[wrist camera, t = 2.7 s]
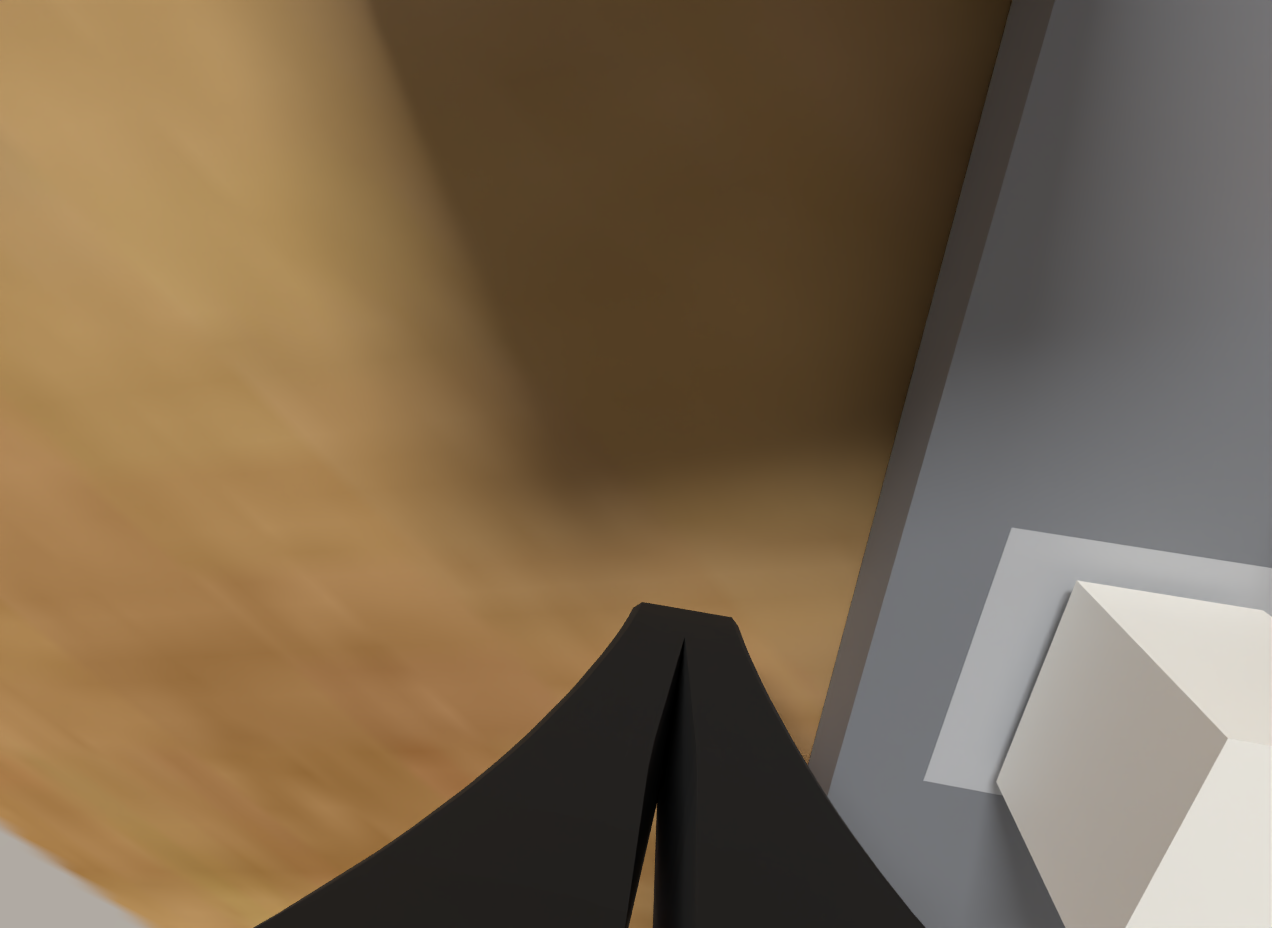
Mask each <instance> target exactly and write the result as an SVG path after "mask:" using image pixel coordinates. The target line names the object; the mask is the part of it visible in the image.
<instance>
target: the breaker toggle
mask: <svg viewBox="0 0 1272 928" xmlns="http://www.w3.org/2000/svg"><path fill="white" fill-rule="evenodd" d="M996 782H997V784H998V787H999V789H1000V791H1001V793H1002V795H1003V797H1004V799H1005V801H1006V803H1007V806H1008V808H1009V810H1010V812H1011V814H1012V816H1013V818H1014V820H1015V822H1016V825H1017V827H1018V829H1019V831H1020V833H1021V835H1022V837H1023V839H1024V841H1025V844H1026V846H1027V848H1028V850H1029V852H1030V854H1031V856H1032V858H1033V860H1034V863H1035V865H1036V867H1037V869H1038V871H1039V873H1040V875H1041V877H1042V879H1043V882H1044V884H1045V886H1046V888H1047V890H1048V892H1049V894H1050V896H1051V898H1052V901H1053V903H1054V905H1055V907H1056V909H1057V911H1058V913H1059V915H1060V917H1061V920H1062V922H1063V924H1064V926H1065V928H1272V617H1271V616H1270V615H1269V614H1267V613H1266V612H1265V611H1263V610H1258V609H1251V608H1245V607H1239V606H1233V605H1227V604H1220V603H1214V602H1208V601H1202V600H1196V599H1189V598H1183V597H1177V596H1171V595H1165V594H1158V593H1152V592H1146V591H1140V590H1133V589H1127V588H1121V587H1115V586H1109V585H1102V584H1096V583H1090V582H1084V581H1078V580H1076V583H1075V585H1074V588H1073V590H1072V593H1071V595H1070V598H1069V600H1068V603H1067V606H1066V608H1065V611H1064V613H1063V616H1062V618H1061V621H1060V623H1059V626H1058V628H1057V631H1056V633H1055V636H1054V638H1053V641H1052V643H1051V646H1050V648H1049V651H1048V653H1047V656H1046V658H1045V661H1044V663H1043V666H1042V668H1041V671H1040V673H1039V676H1038V678H1037V681H1036V683H1035V686H1034V688H1033V691H1032V693H1031V696H1030V698H1029V701H1028V703H1027V706H1026V708H1025V711H1024V713H1023V716H1022V718H1021V721H1020V723H1019V726H1018V728H1017V731H1016V733H1015V736H1014V738H1013V741H1012V743H1011V746H1010V748H1009V751H1008V753H1007V756H1006V758H1005V761H1004V763H1003V766H1002V768H1001V771H1000V773H999V776H998V778H997V781H996Z"/></svg>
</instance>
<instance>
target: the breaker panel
mask: <svg viewBox="0 0 1272 928" xmlns="http://www.w3.org/2000/svg"><path fill="white" fill-rule="evenodd" d="M1076 580H1078V581H1084V582H1090V583H1096V584H1102V585H1109V586H1115V587H1121V588H1127V589H1133V590H1140V591H1146V592H1152V593H1158V594H1165V595H1171V596H1177V597H1183V598H1189V599H1196V600H1202V601H1208V602H1214V603H1220V604H1227V605H1233V606H1239V607H1245V608H1251V609H1258V610H1263V611H1265V612H1266V613H1267V614H1269V615H1270V616H1271V617H1272V0H1012V3H1011V7H1010V10H1009V14H1008V18H1007V22H1006V25H1005V29H1004V33H1003V37H1002V40H1001V44H1000V48H999V52H998V55H997V59H996V63H995V66H994V70H993V74H992V78H991V81H990V85H989V89H988V93H987V96H986V100H985V104H984V108H983V111H982V115H981V119H980V123H979V126H978V130H977V134H976V138H975V141H974V145H973V149H972V153H971V156H970V160H969V164H968V168H967V171H966V175H965V179H964V183H963V186H962V190H961V194H960V198H959V201H958V205H957V209H956V213H955V216H954V220H953V224H952V228H951V231H950V235H949V239H948V243H947V246H946V250H945V254H944V258H943V261H942V265H941V269H940V273H939V276H938V280H937V284H936V288H935V291H934V295H933V299H932V303H931V306H930V310H929V314H928V318H927V321H926V325H925V329H924V333H923V336H922V340H921V344H920V348H919V351H918V355H917V359H916V363H915V366H914V370H913V374H912V378H911V381H910V385H909V389H908V392H907V396H906V400H905V404H904V407H903V411H902V415H901V419H900V422H899V426H898V430H897V434H896V437H895V441H894V445H893V449H892V452H891V456H890V460H889V464H888V467H887V471H886V475H885V479H884V482H883V486H882V490H881V494H880V497H879V501H878V505H877V509H876V512H875V516H874V520H873V524H872V527H871V531H870V535H869V539H868V542H867V546H866V550H865V554H864V557H863V561H862V565H861V569H860V572H859V576H858V580H857V584H856V587H855V591H854V595H853V599H852V602H851V606H850V610H849V614H848V617H847V621H846V625H845V629H844V632H843V636H842V640H841V644H840V647H839V651H838V655H837V659H836V662H835V666H834V670H833V674H832V677H831V681H830V685H829V689H828V692H827V696H826V700H825V703H824V707H823V711H822V715H821V718H820V722H819V726H818V730H817V733H816V737H815V741H814V745H813V748H812V752H811V756H810V760H809V763H808V767H809V768H810V770H811V772H812V773H813V775H814V776H815V778H816V780H817V781H818V783H819V784H820V786H821V788H822V789H823V791H824V792H825V794H826V795H827V797H828V798H829V800H830V801H831V803H832V804H833V806H834V807H835V809H836V810H837V812H838V814H839V815H840V816H841V818H842V819H843V821H844V822H845V824H846V825H847V827H848V828H849V829H850V831H851V832H852V834H853V835H854V837H855V838H856V839H857V841H858V842H859V843H860V845H861V846H862V847H863V849H864V850H865V851H866V853H867V854H868V856H869V857H870V858H871V860H872V861H873V862H874V864H875V865H876V866H877V868H878V869H879V870H880V872H881V873H882V874H883V876H884V877H885V878H886V880H887V881H888V882H889V883H890V885H891V886H892V887H893V888H894V890H895V891H896V892H897V893H898V895H899V896H900V897H901V899H902V900H903V901H904V902H905V904H906V905H907V906H908V907H909V909H910V910H911V911H912V912H913V914H914V915H915V916H916V917H917V918H918V919H919V920H920V922H921V923H922V924H923V925H924V926H925V927H926V928H1065V926H1064V924H1063V922H1062V920H1061V917H1060V915H1059V913H1058V911H1057V909H1056V907H1055V905H1054V903H1053V901H1052V898H1051V896H1050V894H1049V892H1048V890H1047V888H1046V886H1045V884H1044V882H1043V879H1042V877H1041V875H1040V873H1039V871H1038V869H1037V867H1036V865H1035V863H1034V860H1033V858H1032V856H1031V854H1030V852H1029V850H1028V848H1027V846H1026V844H1025V841H1024V839H1023V837H1022V835H1021V833H1020V831H1019V829H1018V827H1017V825H1016V822H1015V820H1014V818H1013V816H1012V814H1011V812H1010V810H1009V808H1008V806H1007V803H1006V801H1005V799H1004V797H1003V795H1002V793H1001V791H1000V789H999V787H998V784H997V782H996V781H997V778H998V776H999V773H1000V771H1001V768H1002V766H1003V763H1004V761H1005V758H1006V756H1007V753H1008V751H1009V748H1010V746H1011V743H1012V741H1013V738H1014V736H1015V733H1016V731H1017V728H1018V726H1019V723H1020V721H1021V718H1022V716H1023V713H1024V711H1025V708H1026V706H1027V703H1028V701H1029V698H1030V696H1031V693H1032V691H1033V688H1034V686H1035V683H1036V681H1037V678H1038V676H1039V673H1040V671H1041V668H1042V666H1043V663H1044V661H1045V658H1046V656H1047V653H1048V651H1049V648H1050V646H1051V643H1052V641H1053V638H1054V636H1055V633H1056V631H1057V628H1058V626H1059V623H1060V621H1061V618H1062V616H1063V613H1064V611H1065V608H1066V606H1067V603H1068V600H1069V598H1070V595H1071V593H1072V590H1073V588H1074V585H1075V583H1076Z"/></svg>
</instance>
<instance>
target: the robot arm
mask: <svg viewBox="0 0 1272 928" xmlns="http://www.w3.org/2000/svg"><path fill="white" fill-rule="evenodd" d="M656 805H657V820H656V850H655V880H654V911H653V928H926V927H925V926H924V925H923V924H922V923H921V922H920V920H919V919H918V918H917V917H916V916H915V915H914V914H913V912H912V911H911V910H910V909H909V907H908V906H907V905H906V904H905V902H904V901H903V900H902V899H901V897H900V896H899V895H898V893H897V892H896V891H895V890H894V888H893V887H892V886H891V885H890V883H889V882H888V881H887V880H886V878H885V877H884V876H883V874H882V873H881V872H880V870H879V869H878V868H877V866H876V865H875V864H874V862H873V861H872V860H871V858H870V857H869V856H868V854H867V853H866V851H865V850H864V849H863V847H862V846H861V845H860V843H859V842H858V841H857V839H856V838H855V837H854V835H853V834H852V832H851V831H850V829H849V828H848V827H847V825H846V824H845V822H844V821H843V819H842V818H841V816H840V815H839V814H838V812H837V810H836V809H835V807H834V806H833V804H832V803H831V801H830V800H829V798H828V797H827V795H826V794H825V792H824V791H823V789H822V788H821V786H820V784H819V783H818V781H817V780H816V778H815V776H814V775H813V773H812V772H811V770H810V768H809V767H808V765H807V764H806V762H805V760H804V759H803V757H802V755H801V754H800V752H799V750H798V749H797V747H796V745H795V743H794V742H793V740H792V738H791V737H790V735H789V733H788V731H787V729H786V727H785V725H784V724H783V722H782V720H781V718H780V716H779V714H778V712H777V711H776V709H775V707H774V705H773V703H772V701H771V700H770V698H769V696H768V694H767V692H766V690H765V688H764V686H763V684H762V681H761V679H760V677H759V675H758V673H757V671H756V669H755V667H754V664H753V662H752V660H751V658H750V655H749V653H748V651H747V648H746V646H745V643H744V641H743V638H742V636H741V633H740V630H739V627H738V625H737V624H736V623H735V621H734V620H733V619H732V617H726V616H720V615H714V614H709V613H703V612H697V611H691V610H685V609H679V608H674V607H668V606H662V605H656V604H650V603H644V602H642V603H640V604H639V605H637V606H635V607H634V608H633V609H632V611H631V613H630V615H629V617H628V618H627V620H626V622H625V623H624V625H623V626H622V628H621V629H620V631H619V632H618V634H617V635H616V636H615V638H614V639H613V640H612V642H611V643H610V644H609V646H608V647H607V648H606V650H605V651H604V652H603V653H602V655H601V656H600V657H599V658H598V659H597V661H596V662H595V663H594V664H593V665H592V666H591V668H590V669H589V670H588V671H587V672H586V673H585V675H584V676H583V677H582V678H581V679H580V680H579V682H578V683H577V684H576V685H575V686H574V687H573V688H572V690H571V691H570V692H569V693H568V694H567V695H566V696H565V697H564V698H563V699H562V700H561V701H560V702H559V703H558V704H557V705H556V706H555V707H554V708H553V709H552V710H551V711H550V712H549V713H548V714H547V715H546V716H545V717H544V718H543V719H542V720H541V721H540V722H539V723H538V724H537V725H536V726H535V727H534V728H533V729H532V730H531V731H530V732H529V733H528V734H527V735H526V736H525V737H524V738H523V739H521V740H520V741H519V742H518V743H517V744H516V745H515V746H514V747H513V748H512V749H510V750H509V751H508V752H507V753H506V754H505V755H504V756H502V757H501V758H500V759H499V760H498V761H497V762H496V763H494V764H493V765H492V766H491V767H490V768H488V769H487V770H486V771H485V772H484V773H482V774H481V775H480V776H479V777H478V778H476V779H475V780H474V781H473V782H471V783H470V784H469V785H468V786H466V787H465V788H464V789H463V790H461V791H460V792H459V793H457V794H456V795H455V796H453V797H452V798H451V799H449V800H448V801H447V802H445V803H444V804H443V805H441V806H440V807H439V808H437V809H436V810H435V811H433V812H432V813H431V814H429V815H428V816H427V817H425V818H424V819H423V820H421V821H420V822H419V823H417V824H416V825H415V826H413V827H412V828H410V829H409V830H408V831H406V832H405V833H403V834H402V835H400V836H399V837H398V838H396V839H395V840H393V841H392V842H390V843H389V844H387V845H386V846H384V847H383V848H382V849H380V850H379V851H377V852H376V853H374V854H373V855H371V856H369V857H368V858H366V859H365V860H363V861H361V862H360V863H358V864H357V865H355V866H353V867H352V868H350V869H349V870H347V871H345V872H344V873H342V874H341V875H339V876H337V877H336V878H334V879H333V880H331V881H329V882H328V883H326V884H325V885H323V886H321V887H320V888H318V889H317V890H315V891H313V892H312V893H310V894H309V895H307V896H305V897H304V898H302V899H301V900H299V901H297V902H296V903H294V904H293V905H291V906H289V907H288V908H286V909H285V910H283V911H281V912H280V913H278V914H276V915H275V916H273V917H271V918H269V919H268V920H266V921H264V922H263V923H261V924H259V925H257V926H256V927H254V928H628V927H629V923H630V918H631V914H632V910H633V905H634V901H635V896H636V892H637V888H638V883H639V879H640V875H641V870H642V866H643V862H644V857H645V853H646V848H647V844H648V840H649V835H650V831H651V827H652V822H653V818H654V813H655V809H656Z"/></svg>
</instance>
